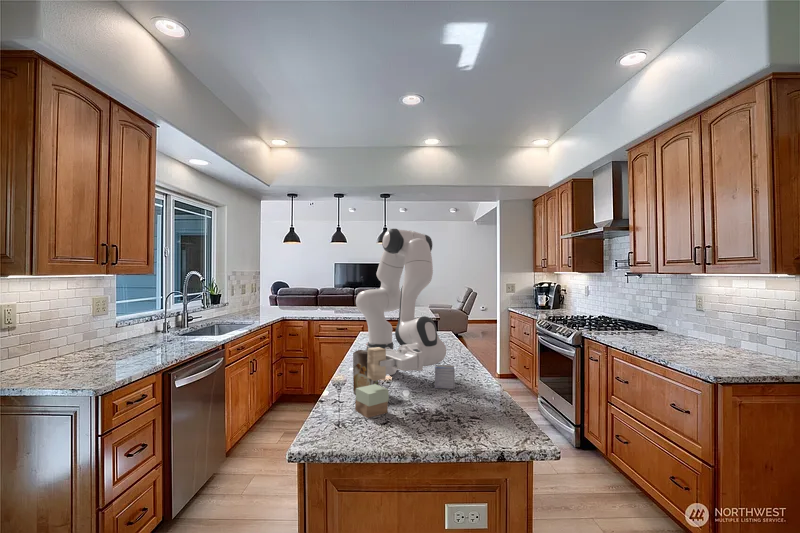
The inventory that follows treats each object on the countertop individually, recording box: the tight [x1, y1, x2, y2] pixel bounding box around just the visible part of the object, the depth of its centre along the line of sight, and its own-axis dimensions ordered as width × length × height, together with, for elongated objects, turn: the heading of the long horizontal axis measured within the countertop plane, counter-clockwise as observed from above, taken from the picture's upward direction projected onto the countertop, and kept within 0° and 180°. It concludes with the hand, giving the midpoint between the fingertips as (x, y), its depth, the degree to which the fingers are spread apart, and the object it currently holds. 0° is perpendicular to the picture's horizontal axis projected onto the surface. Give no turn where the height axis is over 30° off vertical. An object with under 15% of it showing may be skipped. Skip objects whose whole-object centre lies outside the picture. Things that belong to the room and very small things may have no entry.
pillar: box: [367, 347, 387, 381], centre depth 136 cm, size 4×4×10 cm
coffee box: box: [352, 349, 380, 395], centre depth 157 cm, size 9×6×16 cm
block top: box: [355, 384, 390, 406], centre depth 136 cm, size 8×8×4 cm
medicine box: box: [434, 364, 456, 390], centre depth 164 cm, size 8×4×9 cm, turn 82°
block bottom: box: [354, 399, 389, 419], centre depth 136 cm, size 8×8×4 cm
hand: (374, 361), depth 136 cm, fingers closed on pillar, 4 cm apart
